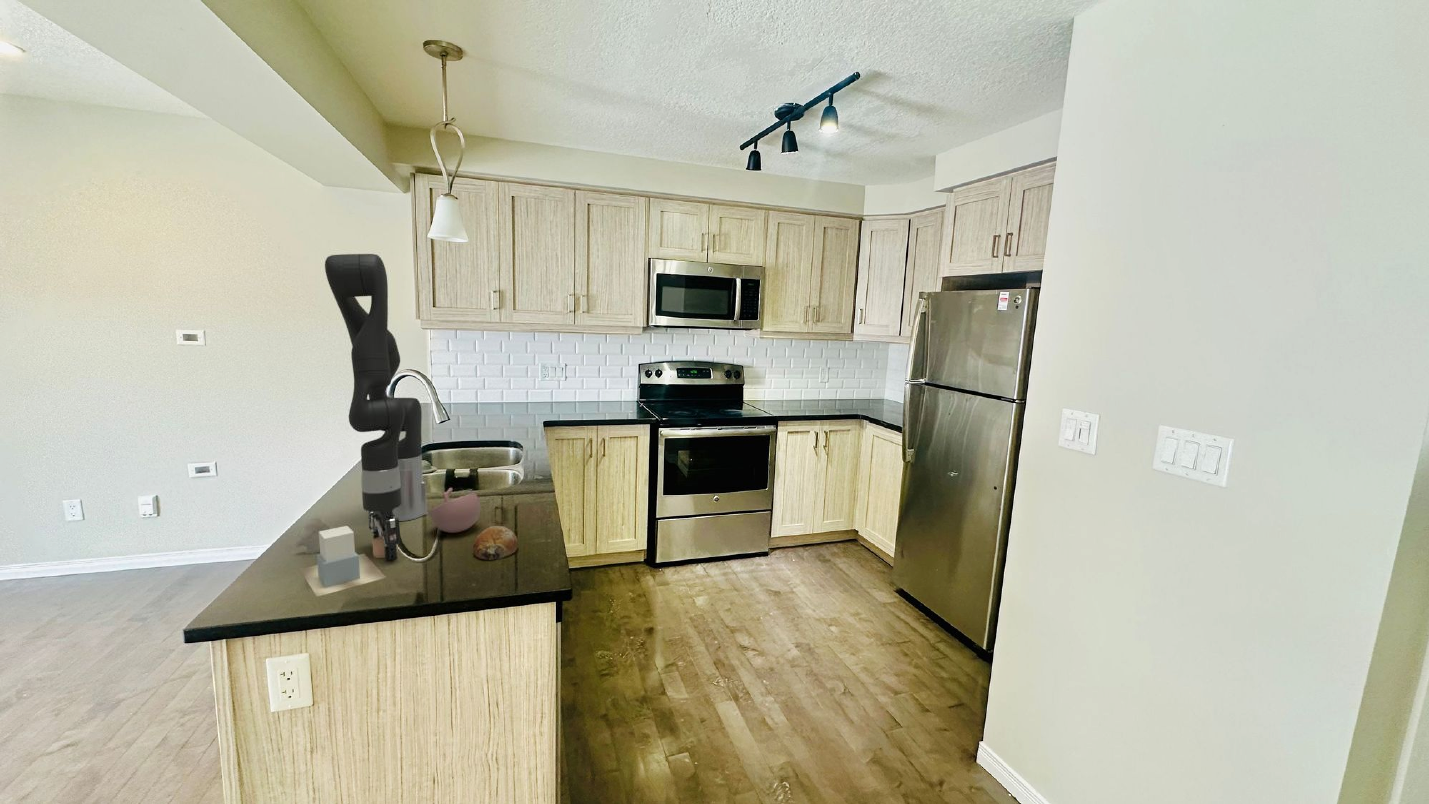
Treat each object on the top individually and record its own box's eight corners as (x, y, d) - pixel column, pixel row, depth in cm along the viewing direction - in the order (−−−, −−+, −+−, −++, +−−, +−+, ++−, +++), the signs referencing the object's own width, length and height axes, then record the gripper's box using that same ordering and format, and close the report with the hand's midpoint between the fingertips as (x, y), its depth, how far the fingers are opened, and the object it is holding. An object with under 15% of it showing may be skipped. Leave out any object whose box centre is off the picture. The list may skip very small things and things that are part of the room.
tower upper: (348, 548, 118) (347, 525, 117) (355, 555, 114) (353, 532, 114) (320, 554, 114) (318, 531, 114) (326, 562, 111) (324, 538, 110)
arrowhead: (295, 562, 124) (292, 520, 123) (297, 558, 127) (294, 516, 125) (338, 556, 128) (335, 515, 127) (339, 552, 130) (336, 511, 129)
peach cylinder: (394, 553, 131) (393, 533, 130) (400, 560, 128) (399, 539, 127) (370, 559, 127) (369, 538, 127) (377, 566, 124) (376, 545, 123)
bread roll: (521, 564, 136) (530, 531, 138) (495, 562, 126) (504, 527, 129) (488, 557, 139) (497, 525, 141) (460, 555, 130) (470, 520, 132)
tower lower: (352, 568, 119) (350, 546, 118) (360, 578, 115) (358, 555, 114) (318, 577, 115) (316, 554, 114) (325, 587, 111) (323, 564, 110)
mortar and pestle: (459, 519, 153) (458, 479, 152) (491, 528, 148) (490, 486, 147) (420, 534, 143) (418, 491, 141) (452, 543, 138) (450, 499, 136)
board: (364, 559, 127) (364, 553, 127) (386, 584, 116) (386, 577, 116) (300, 575, 119) (299, 569, 118) (317, 603, 108) (316, 596, 107)
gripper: (410, 490, 123) (413, 560, 125) (390, 476, 133) (393, 541, 135) (371, 497, 117) (376, 570, 120) (353, 482, 127) (357, 549, 130)
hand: (385, 554), depth 127 cm, fingers open, 8 cm apart
